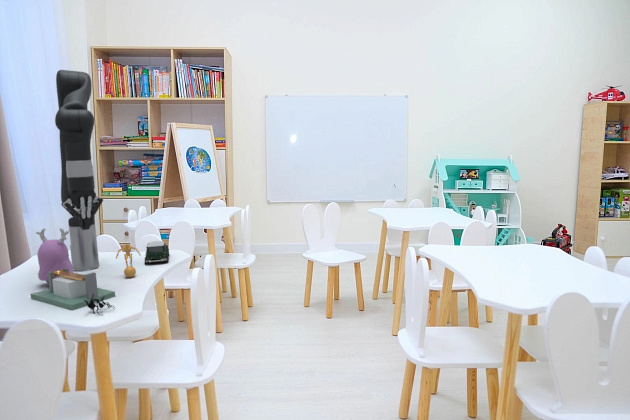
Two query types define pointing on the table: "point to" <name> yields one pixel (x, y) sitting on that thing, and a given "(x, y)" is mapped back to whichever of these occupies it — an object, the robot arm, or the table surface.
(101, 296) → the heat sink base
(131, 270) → the figurine
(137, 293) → the table surface
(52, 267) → the toy character
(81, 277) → the strap
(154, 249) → the miniature car
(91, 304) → the creature
